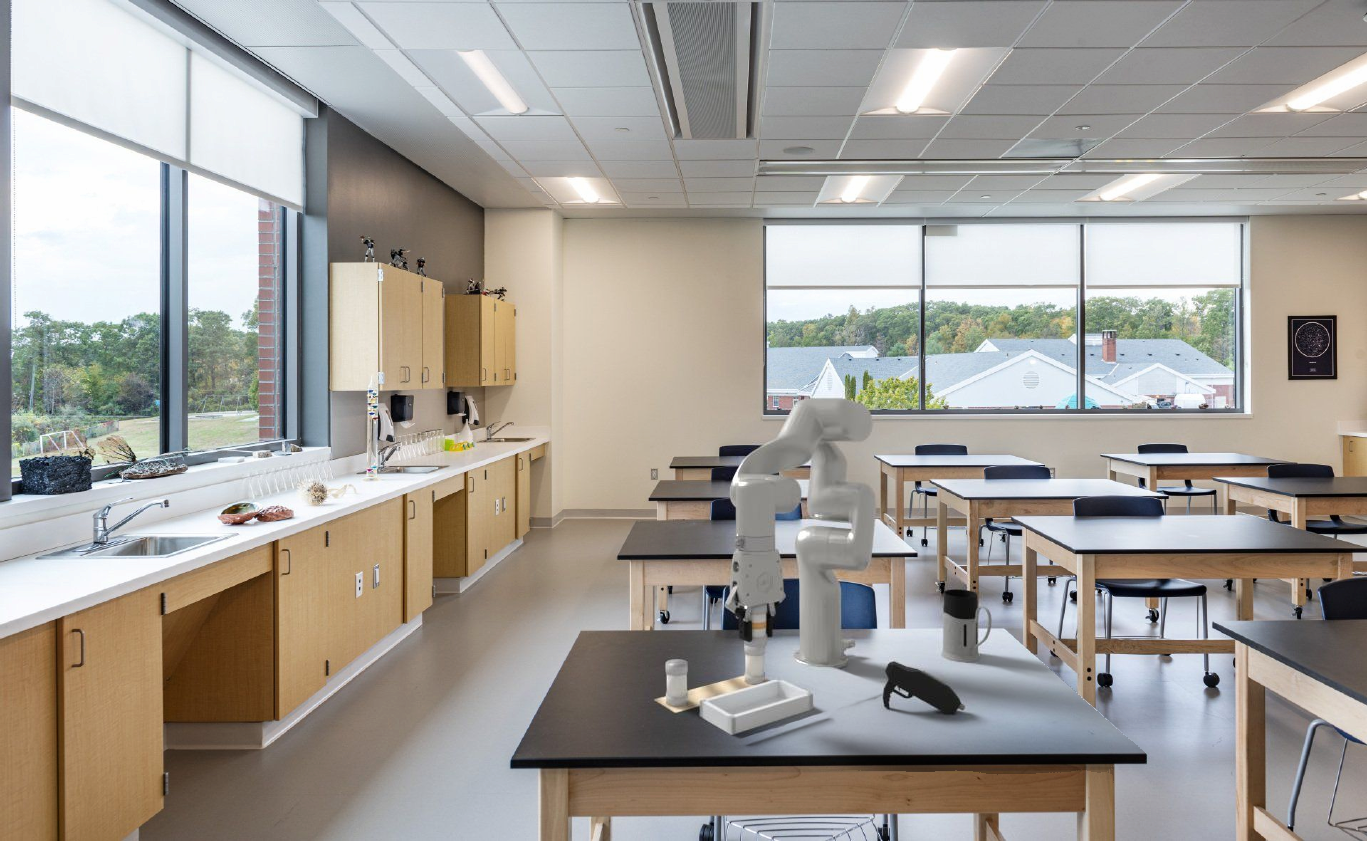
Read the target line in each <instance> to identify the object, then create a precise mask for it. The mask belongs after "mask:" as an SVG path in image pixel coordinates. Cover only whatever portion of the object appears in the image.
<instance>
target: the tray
mask: <svg viewBox="0 0 1367 841" xmlns="http://www.w3.org/2000/svg"><path fill="white" fill-rule="evenodd" d="M812 710H814V693H812V692H809V691H807V690H805V689H803V688H801V687H799V686H796V685H795V684H792V683H790V682H787V681H786V680H783V679H782V678H777V679H773V680H771V681H769V682H765V683H762V684H758V685H754V686H751V687H747V688H744V689H740V690H736V691H733V692H729V693H726V694H722V695H718V696H715V697H711V698H707V699H704V700H700V706H699V717H700V718H702V720H703V719H704V720H705V721H707V722H709V723H710V724H712V725H714V726H716V727H717V728H718V729H720V730H722V731H724V732H726V733H727V734H728V735H731V736H733V735H736V734H739V733H743V732H745V731H746V732H747V731H749V730H751V729H756V728H758V727H761V726H764V725H767V724H771V723H774V722H778V721H780V720H784V719H787V718H790V717H793V716H797V715H799V714H802V713H805V712H808V711H812Z"/></svg>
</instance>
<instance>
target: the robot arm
mask: <svg viewBox="0 0 1367 841" xmlns="http://www.w3.org/2000/svg"><path fill="white" fill-rule="evenodd" d="M873 424H874V423H873V416H872V414H871V411H870V410H869V409H868V407H866V406H865V405H864V404H861V403H859V402H856V401H853V400H851V399H848V398H843V397H842V398H839V397H832V398H831V397H828V398H826V397H813V398H804V399H800V400H799V401H797V402H796V403H795V404H794V405H793V406H792V408H791V410H790V412H789V414H788V416H787V418H786V420H785V422H784V424H783V425H782V427H781V430H780V431H779V434H778V435H777V436H776V438H773V439H772V440H770V441H768V442H766V443H765V444H763V445H761V446H760V447H758V448H756V449H755V450H753V451H752V452H750V453H749V454H748V455H747V456H746V457H744V459H743V460H742V461H741V462H740V464H739V466H738V468H737V469H736V471H735V474H733V475H734V476H733V477H732V480H731V483H730V487H729V498H730V502H731V503H732V505H733V507H735V522H736V523H735V540H732V542H731V546H732V547H733V548H735V551H733V554H732V555H733V556H732V559H731V560H732V561H731V568H730V574H729V575H730V577H729V595H728V596H727V599H726V600H725V603H724V608H726V609H727V610H729V611H730V612H732V614H733V615H734V616H735V618H736V619H738V635H739V636H738V638H739V640H742V641H743V642H744V641H747V642H751V641H752V621H750V620H749V619H750V613H751V607H752V606H758V605H763V604H767V613H766V634H767V638H772V637H774V636H773V633H774V632H773V628H774V626H773V622H774V620H773V617H775V615H776V612H777V609H778V608H779V606H780V604H781V603H782V602H783V601H784V599H786V597H787V596H786V593H785V591H784V576H783V567H782V566H783V565H782V560H781V554H780V552H779V551H780V550H779V549H777V548H776V514H789V513H791V512H793V511H795V510H796V509H797V508H798V507H799V505H800V503H801V500H802V488H801V485H800V483H799V482H798V480H796V479H795V478H794V477H792V476H788V475H780V474H778V473H782V472H786V471H789V470H792V469H795V468H798V467H801V466H804V465H805V464H808V463H809V462H810V470H809V472H810V473H809V481H808V489H807V497H806V499H807V500H806V511H807V514H808V516H809V517H810V518H812V519H813V520H816V521H821V522H831V523H844V524H850V525H851V528H845V527H834V526H824V525H811V526H806V527H804V528H802V529H800V530H799V531H798V533H797V534H796V537H795V540H794V550H795V554H796V555H795V557H796V561H797V566H798V567H797V569H798V579H799V580H798V581H799V650H796V651H795V652H794V653H793V655H792V656H793V657H792V658H793V659H794V661H796V662H797V663H799V664H802V665H807V666H811V667H819V668H821V667H822V668H828V667H829V668H831V667H833V668H835V669H841V668H843V667H846V666H847V665H848V663H849V657H848V655H847V654H846V653H845V651H847V649H852V648H854V647H856V642H855V640H854V639H853V638H851V639H847V640H843V638H842V589H841V584H840V582H839V579H838V577H837V575H836V574H835V572H834V571H833V570H836V571H838V570H839V571H845V572H846V571H847V572H864V571H867V569H868V568H869V566H870V564H871V560H872V554H873V548H874V547H873V546H874V536H875V527H876V526H875V524H876V513H877V499H876V495H875V491H874V489H873V488H872V487H871V486H870V485H869V484H867V483H863V482H854V481H847V471H848V460H847V458H846V456H845V455H844V453H843V451H842V450H841V449H840V448H839V446H838V444H836V442H846V443H847V442H853V443H855V442H857V443H859V442H860V443H861V442H864V441H866V440H867V439H868V438H869V437H870V436H871V432H872V430H873ZM736 604H737V605H736ZM744 607H745V609H744Z"/></svg>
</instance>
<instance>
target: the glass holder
mask: <svg viewBox="0 0 1367 841" xmlns="http://www.w3.org/2000/svg"><path fill="white" fill-rule="evenodd" d="M978 597H979V596H978V593H977V592H975V591H972V590H967V589H955V588H954V589H947V590H945V591H943V607H942V613H943V614H942V651H941V652H940V656H941V657H942V658H943V659H946V660H949V661H952V662H957V663H975V662H978V661H980V660H981V655H980V654H979V647H980V646H981V645H982V644H983V643H985V642H986V640H988V637H989V636H990V633H991V628H992V615H991V612H990V609H988V608H987V606H984V605H981V606H978V604H979V603H978V599H979V598H978ZM981 609H983V610H984V611H985V612H986V613H987V618H988V619H987V620H988V623H987V630H986V633H985V636H984V637H983V638H982V640H980V642H979V617H980V616H979V614H980V611H981Z"/></svg>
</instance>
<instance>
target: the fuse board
mask: <svg viewBox="0 0 1367 841" xmlns="http://www.w3.org/2000/svg"><path fill="white" fill-rule="evenodd" d="M769 681H772V680H771V679H768V678H766V677H765V682H769ZM751 686H754V685H750V684H747V683H745V674H743V675H741V676H736V677H732V678H730V679H727V680H722V681H719V682H718V681H717V682H713V683H710V684H708V685H703V686H699V687H696V688H692V689H689V690H688V689H687V693H688V704H687V705H685V706H682V707H672V706H669V705H667V704H666V695H665V696H661V697H658V698H655V699H653V700H654V701H655V702H657V703H658V704H660V705H662V706H664V707H665V708H666V709H668V710H669V711H671V712H673V713H675V714H677V713H680V712H684V711H687V710H690V709H694V708H698V707H699V708H700V700H704V699H707V698H711V697H715V696H718V695H722V694H726V693H729V692H733V691H736V690H740V689H744V688H747V687H751Z"/></svg>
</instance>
